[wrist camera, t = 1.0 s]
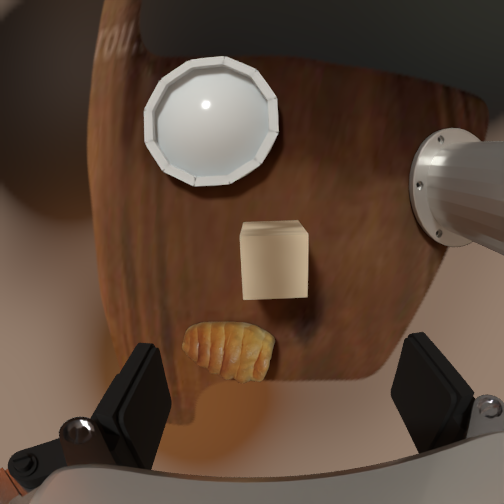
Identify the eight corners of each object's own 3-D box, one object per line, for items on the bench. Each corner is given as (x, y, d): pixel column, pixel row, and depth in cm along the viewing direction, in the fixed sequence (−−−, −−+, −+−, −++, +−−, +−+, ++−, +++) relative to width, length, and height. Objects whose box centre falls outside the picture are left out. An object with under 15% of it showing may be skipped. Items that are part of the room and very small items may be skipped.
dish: (274, 58, 23) (275, 52, 22) (280, 182, 27) (281, 183, 25) (148, 70, 24) (143, 66, 22) (151, 190, 27) (146, 191, 26)
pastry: (182, 357, 32) (175, 377, 29) (189, 306, 31) (181, 324, 27) (263, 374, 33) (264, 395, 29) (278, 324, 31) (280, 344, 27)
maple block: (297, 220, 28) (308, 234, 22) (298, 271, 29) (307, 297, 23) (243, 222, 28) (239, 236, 22) (246, 273, 29) (243, 299, 23)
